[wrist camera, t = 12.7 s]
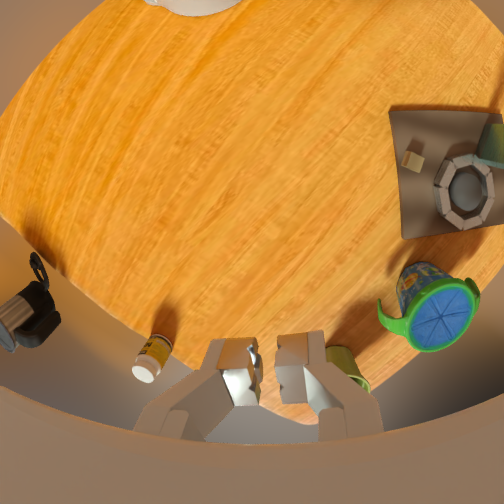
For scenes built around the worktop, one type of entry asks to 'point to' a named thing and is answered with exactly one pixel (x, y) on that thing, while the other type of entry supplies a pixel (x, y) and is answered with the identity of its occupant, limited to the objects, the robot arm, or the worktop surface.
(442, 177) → the ring with upright panel
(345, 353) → the plant pot
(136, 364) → the supplement bottle
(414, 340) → the snack cup
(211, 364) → the robot arm
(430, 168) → the base
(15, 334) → the milk frother
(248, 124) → the worktop surface
